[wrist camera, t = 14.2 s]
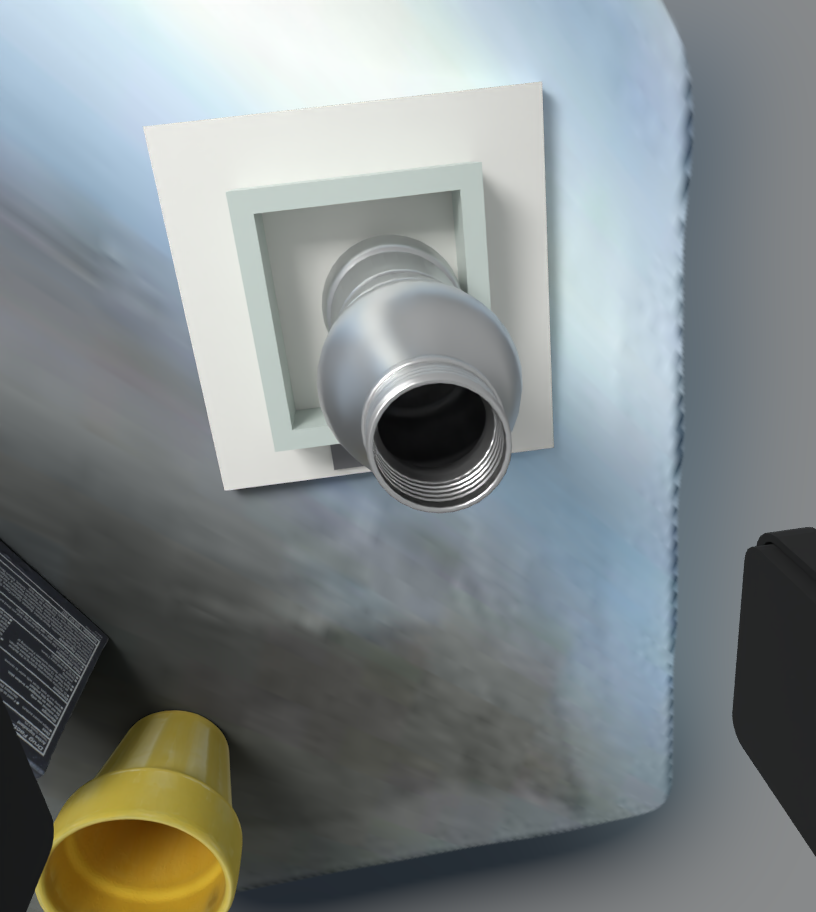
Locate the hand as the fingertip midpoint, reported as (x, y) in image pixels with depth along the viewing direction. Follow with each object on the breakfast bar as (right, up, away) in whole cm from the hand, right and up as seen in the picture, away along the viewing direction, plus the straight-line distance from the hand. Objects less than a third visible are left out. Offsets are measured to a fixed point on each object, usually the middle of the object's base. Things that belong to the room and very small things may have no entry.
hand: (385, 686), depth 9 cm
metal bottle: (-1, +11, +28) cm, 30 cm away
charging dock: (-2, +11, +28) cm, 30 cm away
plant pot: (-15, -16, +38) cm, 44 cm away
